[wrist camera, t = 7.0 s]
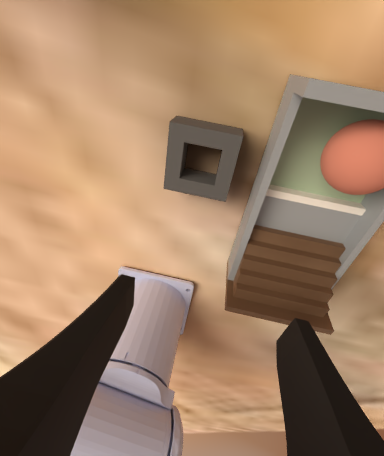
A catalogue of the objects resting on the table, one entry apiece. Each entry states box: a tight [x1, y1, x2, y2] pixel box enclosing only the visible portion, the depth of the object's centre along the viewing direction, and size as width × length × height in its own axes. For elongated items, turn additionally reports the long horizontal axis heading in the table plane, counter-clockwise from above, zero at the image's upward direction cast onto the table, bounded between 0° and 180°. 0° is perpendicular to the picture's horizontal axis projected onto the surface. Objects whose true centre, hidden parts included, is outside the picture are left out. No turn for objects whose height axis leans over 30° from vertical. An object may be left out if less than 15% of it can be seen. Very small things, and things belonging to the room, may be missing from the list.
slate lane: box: [228, 74, 384, 290], centre depth 16 cm, size 14×8×4 cm, turn 171°
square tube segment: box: [164, 116, 243, 202], centre depth 16 cm, size 4×4×2 cm
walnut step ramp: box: [225, 225, 346, 335], centre depth 18 cm, size 6×8×5 cm
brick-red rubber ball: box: [320, 119, 384, 195], centre depth 13 cm, size 4×4×4 cm
